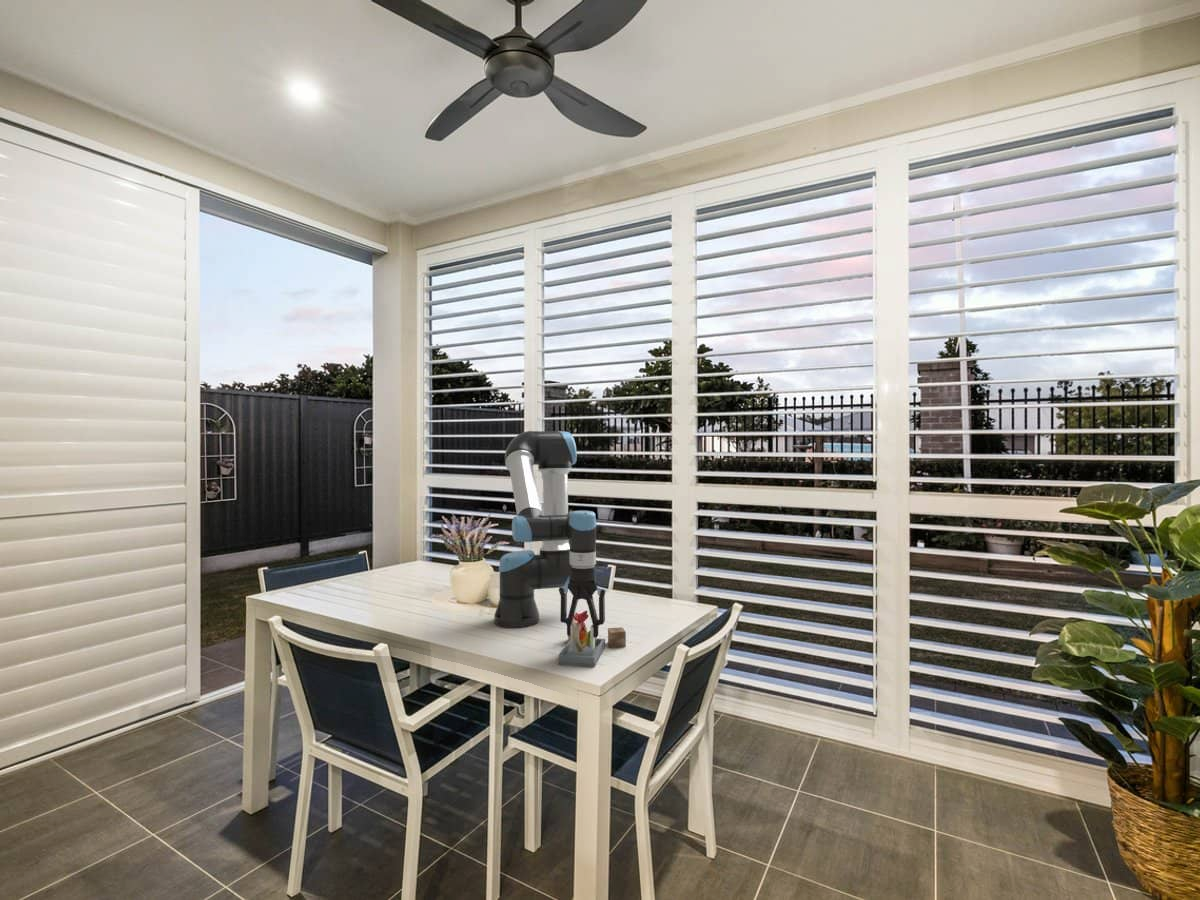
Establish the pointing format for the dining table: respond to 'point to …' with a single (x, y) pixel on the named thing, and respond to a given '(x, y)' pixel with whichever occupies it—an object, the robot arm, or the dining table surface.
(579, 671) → the dining table surface
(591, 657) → the tray
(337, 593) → the dining table surface
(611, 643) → the walnut cube
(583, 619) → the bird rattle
